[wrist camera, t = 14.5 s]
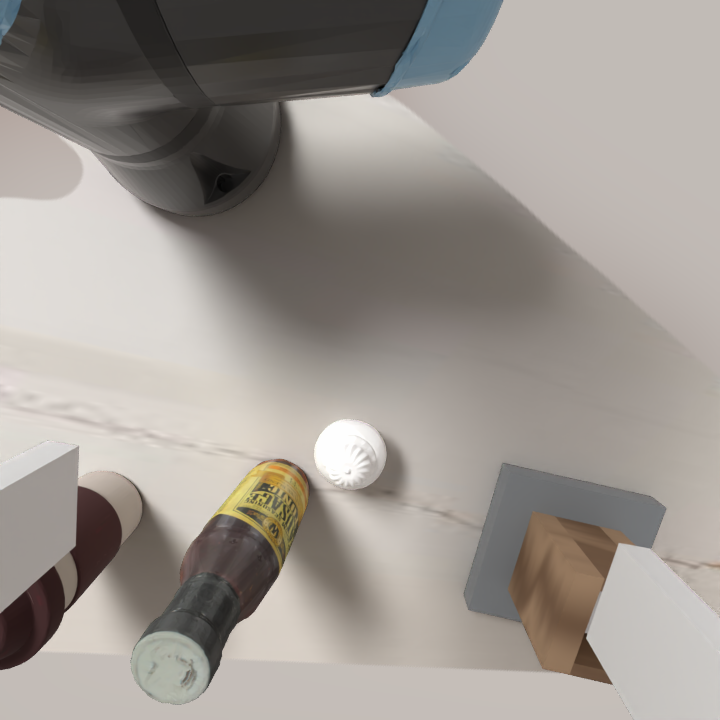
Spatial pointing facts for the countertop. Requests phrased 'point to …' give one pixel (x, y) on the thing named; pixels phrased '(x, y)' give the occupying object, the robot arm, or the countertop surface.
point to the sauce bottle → (221, 582)
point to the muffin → (350, 454)
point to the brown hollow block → (563, 590)
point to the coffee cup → (71, 565)
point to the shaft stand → (552, 497)
